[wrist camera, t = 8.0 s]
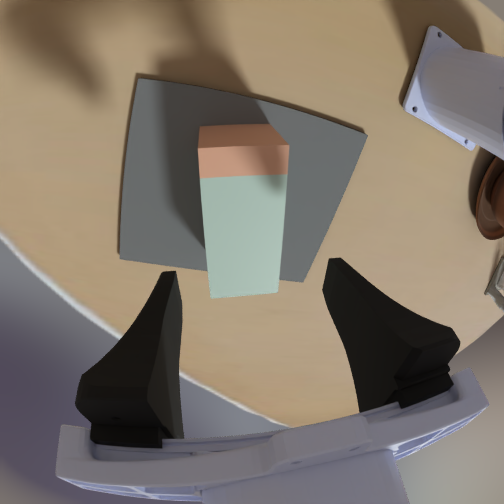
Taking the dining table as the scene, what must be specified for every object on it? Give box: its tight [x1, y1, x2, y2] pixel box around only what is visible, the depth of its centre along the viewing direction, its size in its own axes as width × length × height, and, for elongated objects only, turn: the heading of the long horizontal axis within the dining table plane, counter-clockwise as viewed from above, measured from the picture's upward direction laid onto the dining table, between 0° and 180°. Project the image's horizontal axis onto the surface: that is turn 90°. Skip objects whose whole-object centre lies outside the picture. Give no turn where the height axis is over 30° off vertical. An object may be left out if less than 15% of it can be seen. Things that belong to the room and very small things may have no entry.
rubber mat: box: [120, 78, 368, 282], centre depth 21 cm, size 16×14×1 cm
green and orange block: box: [198, 124, 289, 298], centre depth 19 cm, size 10×4×5 cm, turn 179°
